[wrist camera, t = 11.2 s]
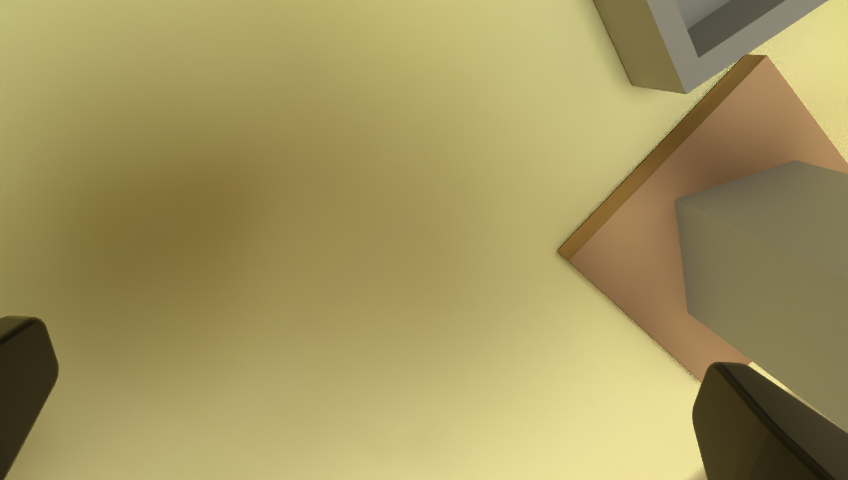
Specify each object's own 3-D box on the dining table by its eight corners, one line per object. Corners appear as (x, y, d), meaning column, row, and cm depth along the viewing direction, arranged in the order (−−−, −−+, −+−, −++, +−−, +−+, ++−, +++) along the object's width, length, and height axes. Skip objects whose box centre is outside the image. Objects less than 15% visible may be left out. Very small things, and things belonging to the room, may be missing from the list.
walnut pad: (699, 381, 24) (715, 395, 23) (557, 250, 21) (568, 261, 20) (870, 218, 23) (894, 226, 22) (745, 54, 19) (766, 55, 19)
